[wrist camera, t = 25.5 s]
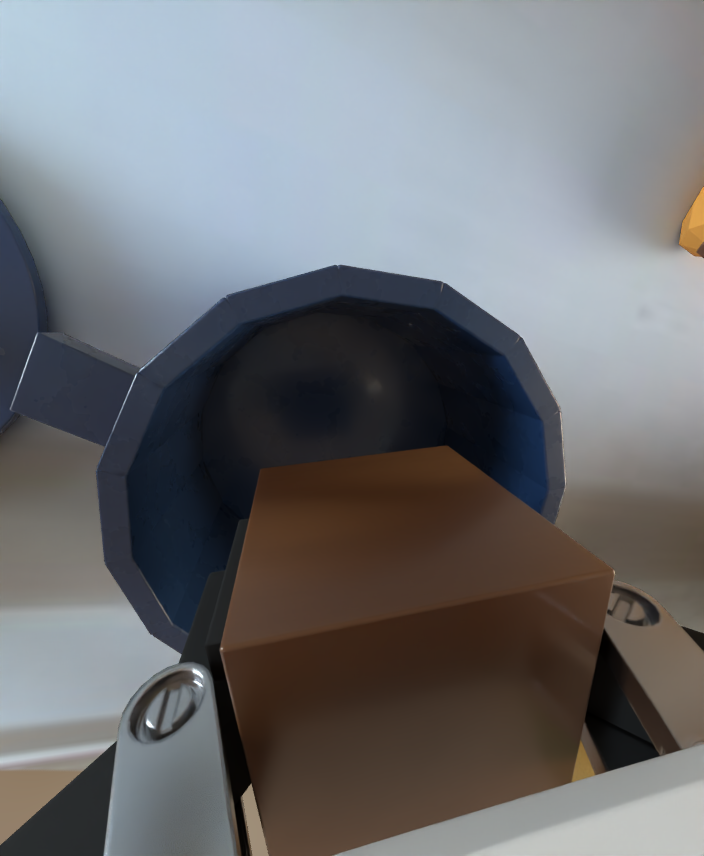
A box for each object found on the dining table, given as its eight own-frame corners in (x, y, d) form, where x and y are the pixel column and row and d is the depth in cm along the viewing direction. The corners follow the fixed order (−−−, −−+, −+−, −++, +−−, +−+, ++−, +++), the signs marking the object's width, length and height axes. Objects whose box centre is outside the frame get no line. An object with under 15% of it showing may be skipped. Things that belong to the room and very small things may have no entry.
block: (284, 623, 11) (277, 898, 6) (259, 467, 9) (217, 650, 4) (443, 592, 12) (568, 806, 6) (447, 444, 10) (618, 570, 5)
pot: (406, 591, 24) (469, 734, 15) (94, 480, 18) (-82, 614, 10) (529, 403, 21) (686, 452, 13) (211, 202, 15) (112, 46, 7)
